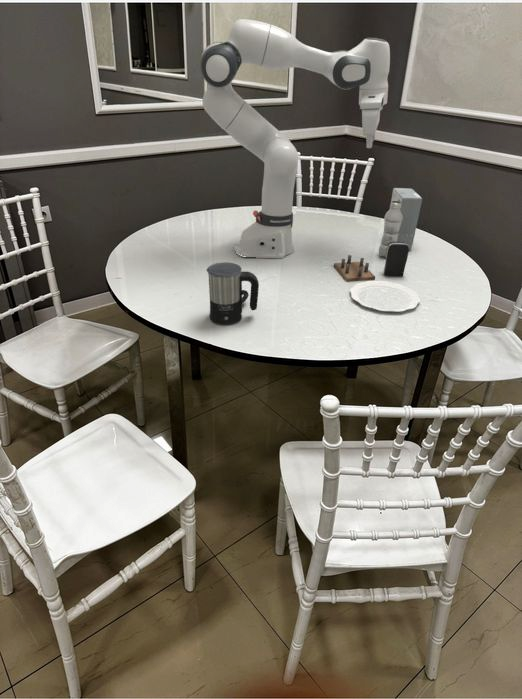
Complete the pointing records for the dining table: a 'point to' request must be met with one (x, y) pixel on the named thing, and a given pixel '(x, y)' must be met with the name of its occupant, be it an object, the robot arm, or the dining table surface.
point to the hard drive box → (407, 213)
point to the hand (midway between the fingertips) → (370, 144)
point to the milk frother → (229, 292)
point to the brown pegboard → (354, 270)
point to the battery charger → (396, 258)
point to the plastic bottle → (391, 226)
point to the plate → (388, 285)
